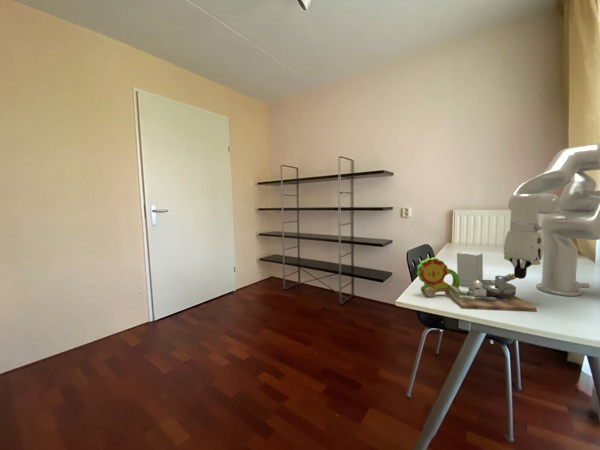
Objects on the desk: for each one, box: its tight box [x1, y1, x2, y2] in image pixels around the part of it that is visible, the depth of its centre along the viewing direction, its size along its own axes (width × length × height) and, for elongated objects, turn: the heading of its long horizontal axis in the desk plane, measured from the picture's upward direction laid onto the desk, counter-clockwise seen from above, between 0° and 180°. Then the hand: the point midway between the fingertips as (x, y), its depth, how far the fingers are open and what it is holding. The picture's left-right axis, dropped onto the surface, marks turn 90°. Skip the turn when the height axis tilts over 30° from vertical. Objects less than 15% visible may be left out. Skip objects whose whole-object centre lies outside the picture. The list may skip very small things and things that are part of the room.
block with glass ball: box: [468, 280, 486, 297], centre depth 94 cm, size 4×4×6 cm
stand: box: [444, 286, 537, 312], centre depth 94 cm, size 23×15×5 cm, turn 80°
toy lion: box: [416, 256, 462, 298], centre depth 101 cm, size 16×5×15 cm, turn 87°
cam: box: [479, 273, 517, 299], centre depth 97 cm, size 12×13×8 cm
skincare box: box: [456, 250, 484, 288], centre depth 111 cm, size 8×6×15 cm
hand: (519, 277), depth 92 cm, fingers closed
